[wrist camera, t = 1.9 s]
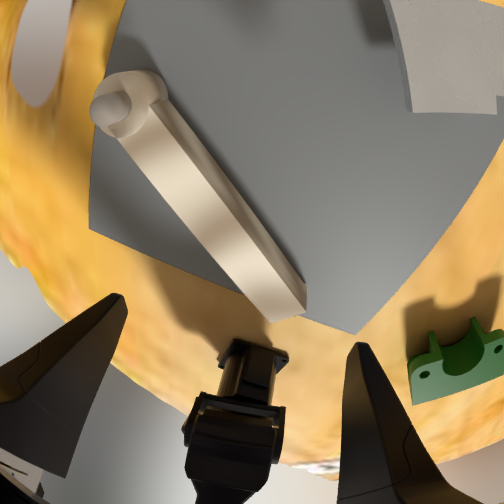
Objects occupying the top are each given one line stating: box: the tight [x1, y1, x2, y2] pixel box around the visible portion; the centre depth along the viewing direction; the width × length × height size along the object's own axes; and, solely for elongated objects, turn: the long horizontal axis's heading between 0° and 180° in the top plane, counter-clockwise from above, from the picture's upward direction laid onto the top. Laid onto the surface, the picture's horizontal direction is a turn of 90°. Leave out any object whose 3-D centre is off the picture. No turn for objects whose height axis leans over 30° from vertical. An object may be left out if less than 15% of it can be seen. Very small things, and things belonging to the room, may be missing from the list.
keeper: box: [383, 0, 504, 115], centre depth 9 cm, size 8×7×5 cm
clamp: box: [407, 317, 504, 406], centre depth 23 cm, size 12×6×9 cm, turn 110°
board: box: [89, 0, 504, 335], centre depth 16 cm, size 28×26×1 cm
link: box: [90, 70, 307, 324], centre depth 17 cm, size 20×4×4 cm, turn 35°
